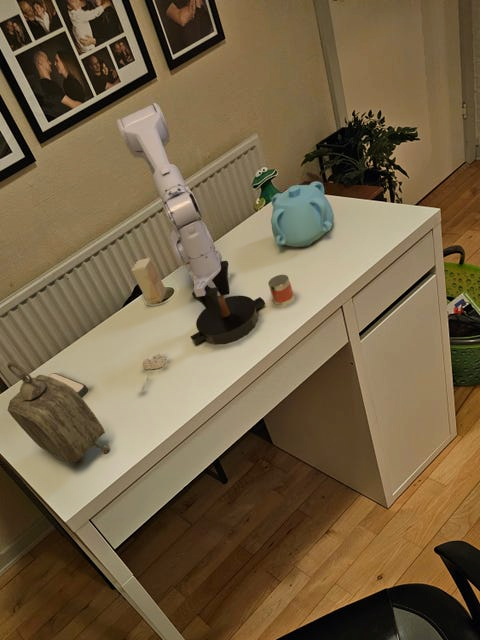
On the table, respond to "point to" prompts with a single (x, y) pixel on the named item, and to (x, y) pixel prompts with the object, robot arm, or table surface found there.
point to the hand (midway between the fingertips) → (221, 304)
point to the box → (149, 280)
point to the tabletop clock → (55, 416)
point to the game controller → (154, 363)
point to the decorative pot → (301, 215)
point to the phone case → (70, 383)
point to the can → (281, 290)
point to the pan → (234, 335)
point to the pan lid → (227, 316)
